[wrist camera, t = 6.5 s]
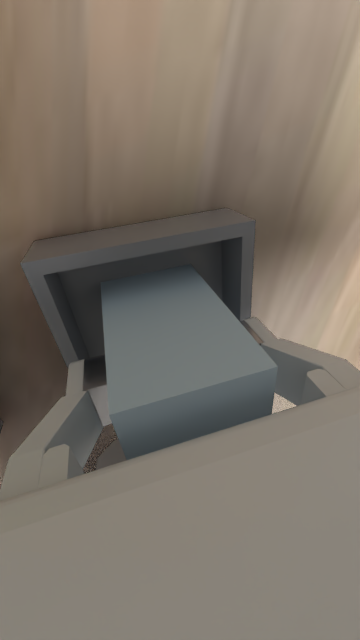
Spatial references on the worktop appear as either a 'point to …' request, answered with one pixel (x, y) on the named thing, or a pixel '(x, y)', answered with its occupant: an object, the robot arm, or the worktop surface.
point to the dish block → (136, 269)
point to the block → (178, 361)
